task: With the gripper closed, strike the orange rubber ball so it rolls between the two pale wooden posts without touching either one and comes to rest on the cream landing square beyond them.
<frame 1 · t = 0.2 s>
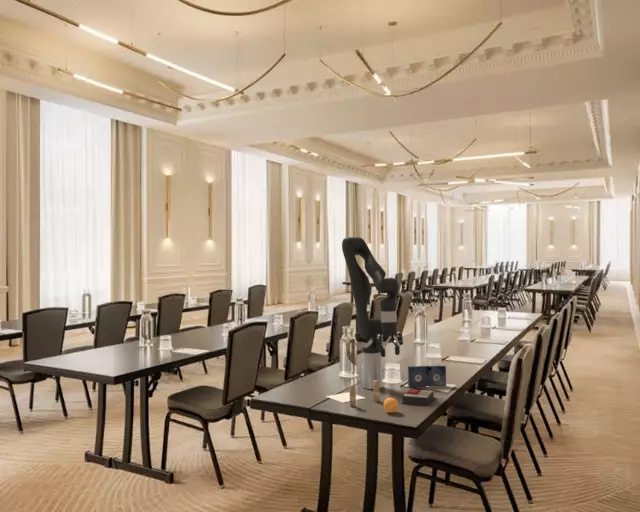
hand: (390, 355, 262), 17 cm above the table, tool pointing down, fingers open, 8 cm apart
ball: (390, 405, 229), on the table
post 2: (376, 401, 247), on the table
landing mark: (345, 397, 255), on the table
vhs cassette tape: (427, 387, 274), on the table
post 1: (352, 406, 240), on the table
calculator: (418, 402, 248), on the table
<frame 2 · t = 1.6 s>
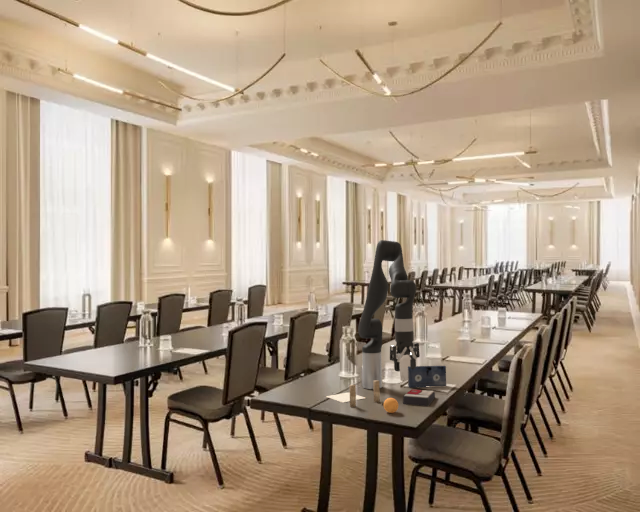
hand: (405, 369, 228), 18 cm above the table, tool pointing down, fingers open, 8 cm apart
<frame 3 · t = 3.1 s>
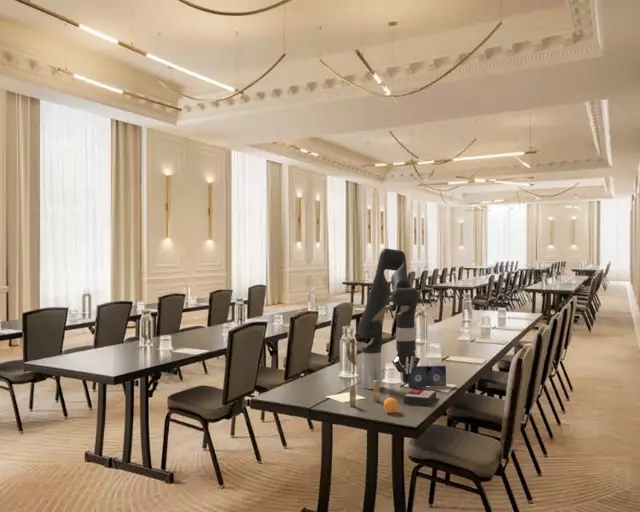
hand: (406, 382, 221), 14 cm above the table, tool pointing down, fingers closed
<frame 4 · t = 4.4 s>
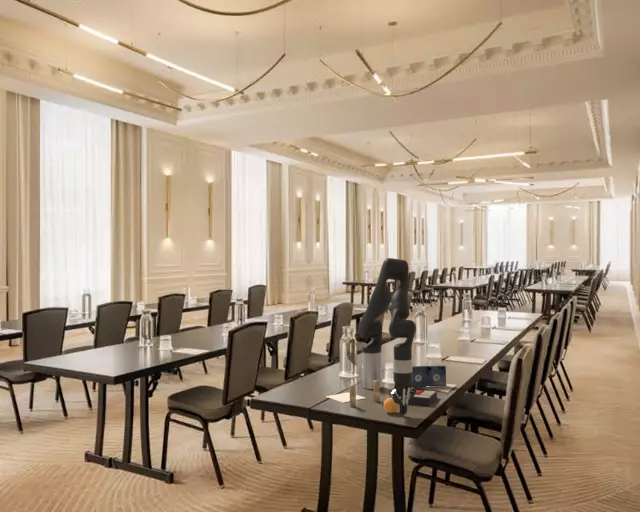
hand: (403, 413, 224), 1 cm above the table, tool pointing down, fingers closed
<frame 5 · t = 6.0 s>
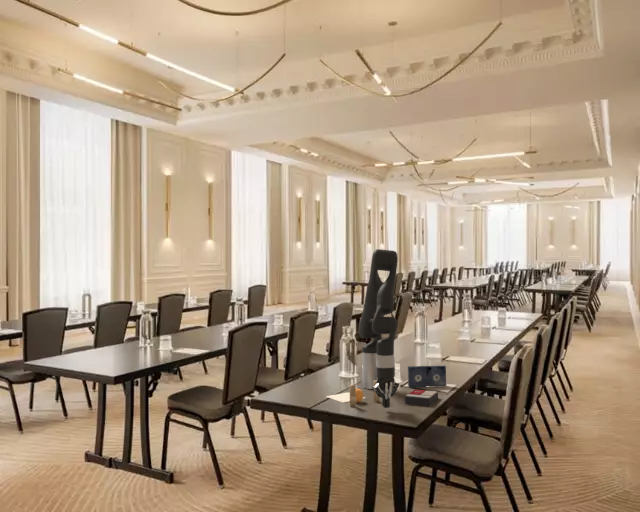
hand: (386, 407, 232), 2 cm above the table, tool pointing down, fingers closed
ball: (356, 395, 246), on the table
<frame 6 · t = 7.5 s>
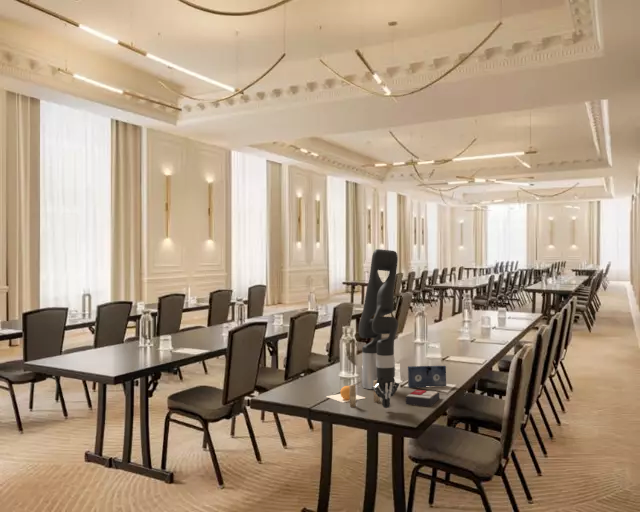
hand: (386, 407, 232), 2 cm above the table, tool pointing down, fingers closed
ball: (347, 392, 252), on the table
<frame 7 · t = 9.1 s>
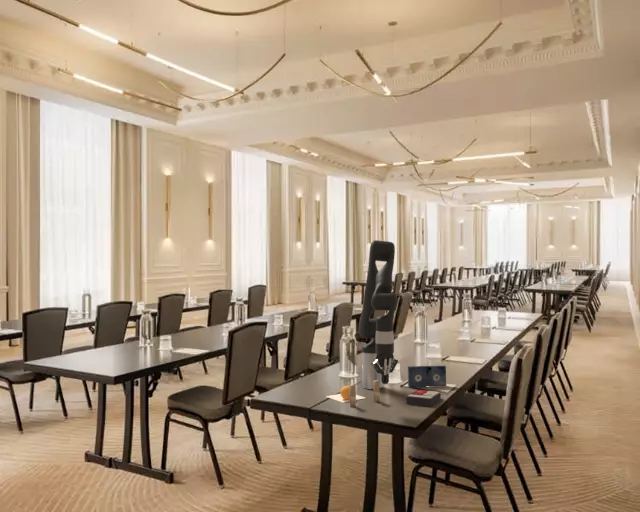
hand: (385, 383, 232), 11 cm above the table, tool pointing down, fingers closed
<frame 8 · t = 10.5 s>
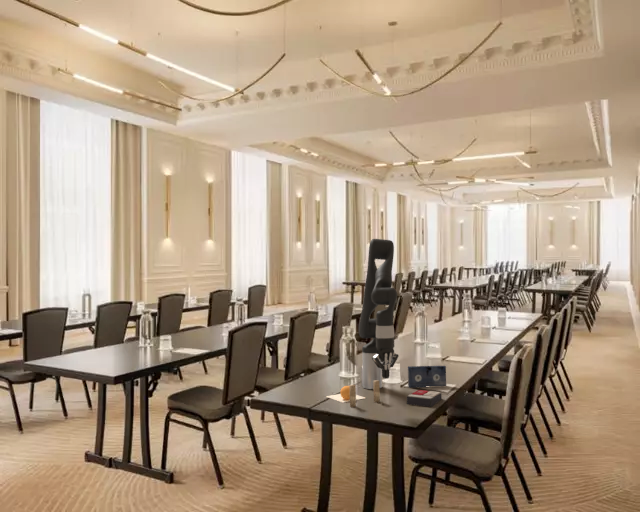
hand: (385, 378, 232), 14 cm above the table, tool pointing down, fingers closed
at the end: ball 3.3 cm from the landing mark (horizontally); ball never touched post 2; ball never touched post 1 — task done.
